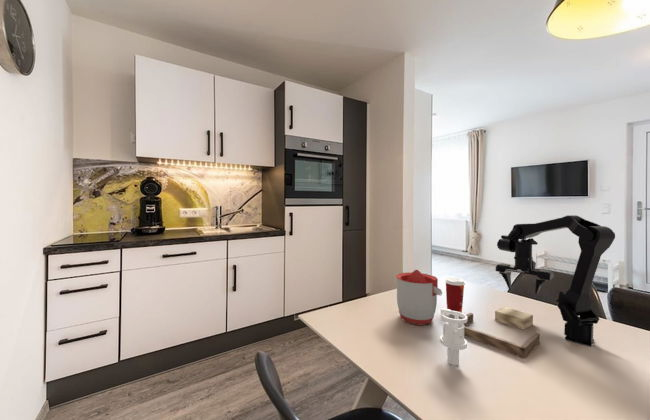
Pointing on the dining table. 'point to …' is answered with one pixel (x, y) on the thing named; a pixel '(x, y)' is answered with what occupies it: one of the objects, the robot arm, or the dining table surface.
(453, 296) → the paper cup
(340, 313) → the dining table surface
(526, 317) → the cream rectangular block
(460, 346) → the white flanged plastic holder
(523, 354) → the brown angled piece
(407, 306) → the citrus juicer
